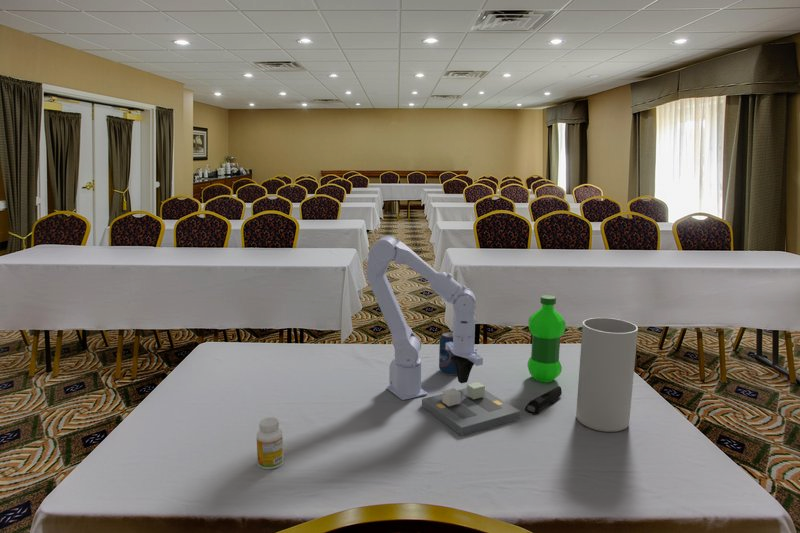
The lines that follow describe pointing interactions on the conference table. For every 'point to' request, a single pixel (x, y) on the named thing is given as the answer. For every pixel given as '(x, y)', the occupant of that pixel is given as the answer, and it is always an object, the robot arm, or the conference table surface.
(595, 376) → the cylinder vase
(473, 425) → the switch panel
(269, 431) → the supplement bottle
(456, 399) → the light grey block
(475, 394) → the tab sage
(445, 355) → the soda can
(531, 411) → the electric trimmer
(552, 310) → the plastic bottle
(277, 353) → the conference table surface
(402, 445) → the conference table surface
